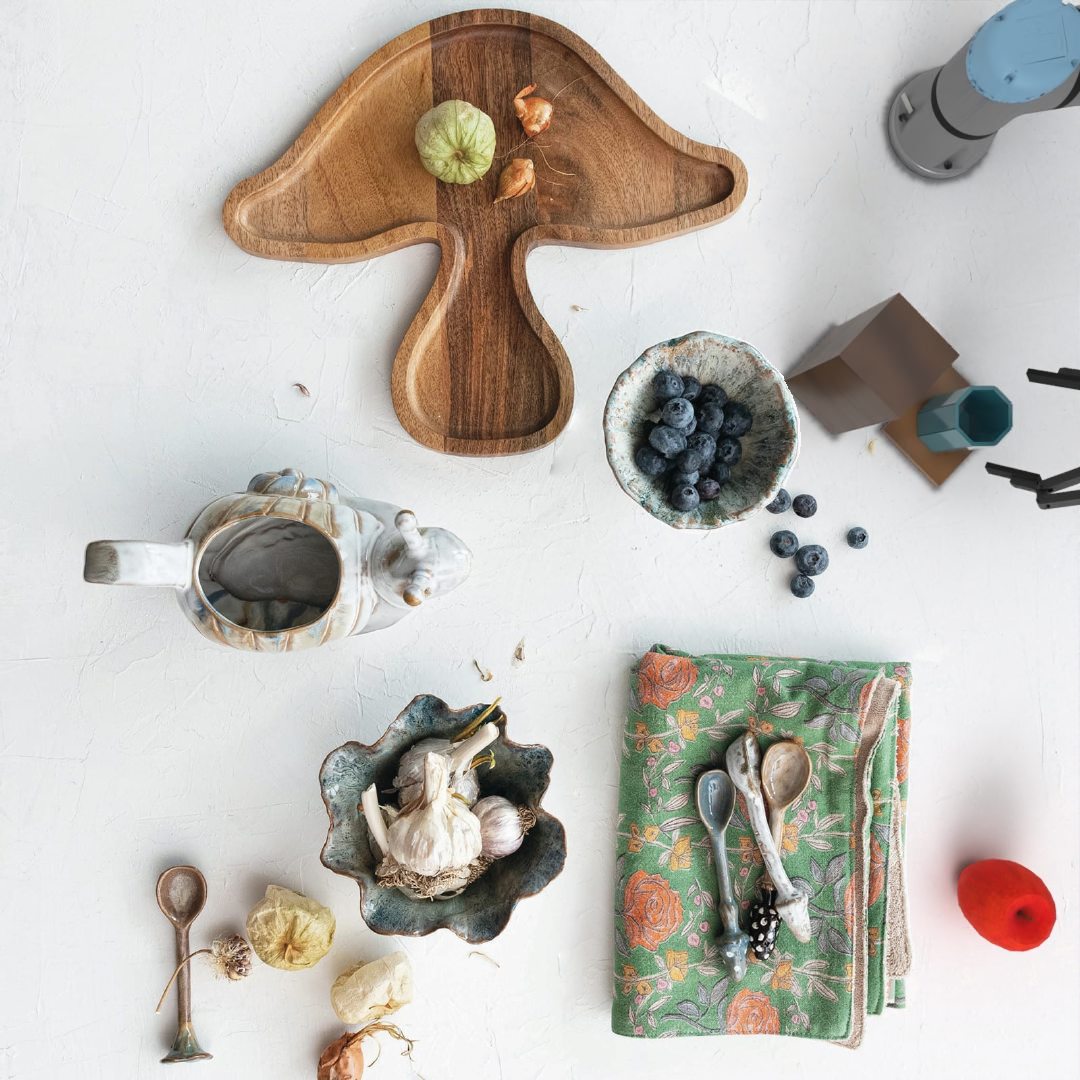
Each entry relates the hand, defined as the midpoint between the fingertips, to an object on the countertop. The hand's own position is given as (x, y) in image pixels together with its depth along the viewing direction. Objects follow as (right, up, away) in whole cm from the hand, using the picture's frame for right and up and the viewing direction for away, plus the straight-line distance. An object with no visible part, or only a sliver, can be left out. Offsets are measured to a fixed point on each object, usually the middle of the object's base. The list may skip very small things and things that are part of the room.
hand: (1007, 421), depth 114 cm
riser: (-20, +7, +11) cm, 24 cm away
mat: (-3, +1, +12) cm, 13 cm away
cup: (-3, +1, +11) cm, 12 cm away
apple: (+3, -67, +14) cm, 69 cm away
